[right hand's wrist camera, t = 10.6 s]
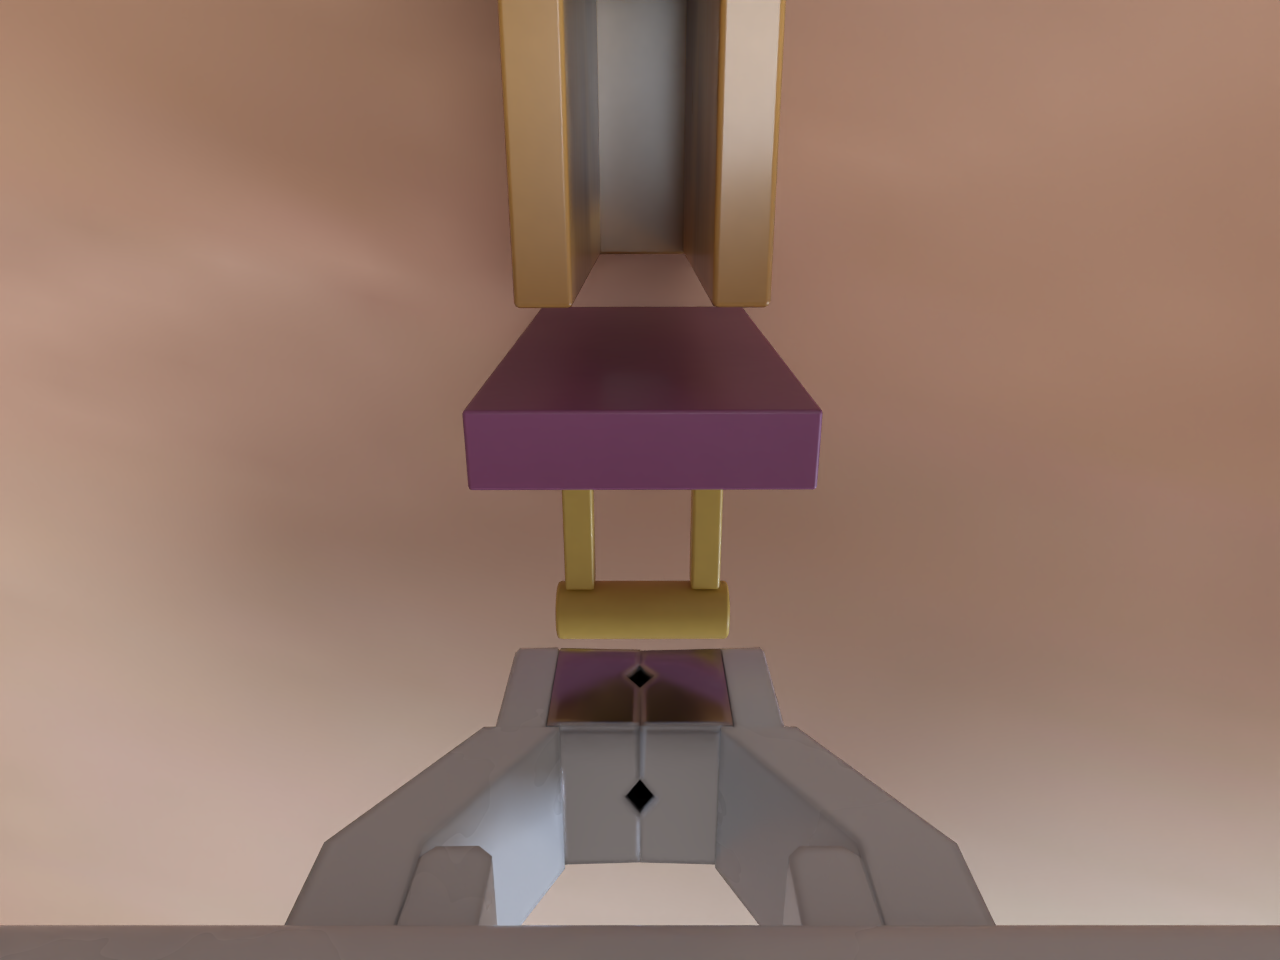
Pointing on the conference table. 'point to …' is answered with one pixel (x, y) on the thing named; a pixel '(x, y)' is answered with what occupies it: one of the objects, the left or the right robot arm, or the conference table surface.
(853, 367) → the conference table surface
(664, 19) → the drawer
